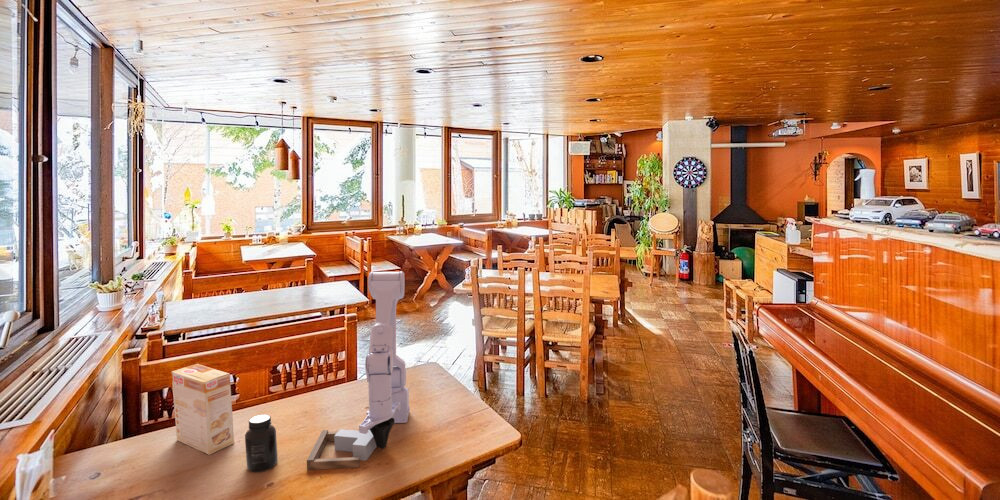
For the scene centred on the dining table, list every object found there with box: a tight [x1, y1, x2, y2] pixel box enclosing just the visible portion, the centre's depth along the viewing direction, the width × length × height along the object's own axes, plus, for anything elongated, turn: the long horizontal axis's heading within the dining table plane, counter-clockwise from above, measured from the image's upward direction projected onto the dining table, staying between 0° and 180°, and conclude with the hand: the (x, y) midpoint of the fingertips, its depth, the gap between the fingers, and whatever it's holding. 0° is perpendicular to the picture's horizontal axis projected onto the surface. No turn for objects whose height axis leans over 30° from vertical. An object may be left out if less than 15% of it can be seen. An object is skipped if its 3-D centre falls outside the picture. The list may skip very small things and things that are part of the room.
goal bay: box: [306, 429, 361, 471], centre depth 123 cm, size 12×14×2 cm
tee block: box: [333, 428, 377, 462], centre depth 125 cm, size 10×10×4 cm
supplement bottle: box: [244, 413, 278, 473], centre depth 116 cm, size 7×7×12 cm
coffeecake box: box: [170, 363, 235, 456], centre depth 126 cm, size 15×7×20 cm, turn 62°
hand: (381, 446), depth 124 cm, fingers closed
